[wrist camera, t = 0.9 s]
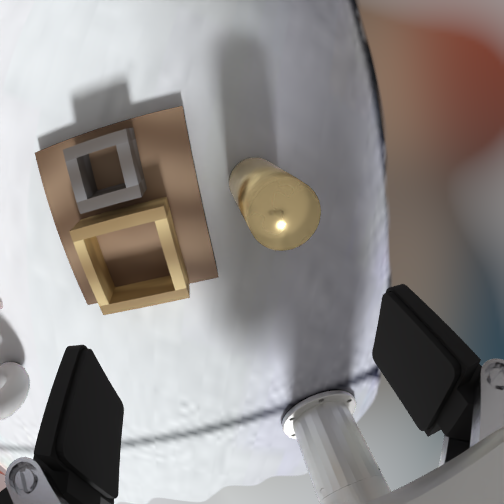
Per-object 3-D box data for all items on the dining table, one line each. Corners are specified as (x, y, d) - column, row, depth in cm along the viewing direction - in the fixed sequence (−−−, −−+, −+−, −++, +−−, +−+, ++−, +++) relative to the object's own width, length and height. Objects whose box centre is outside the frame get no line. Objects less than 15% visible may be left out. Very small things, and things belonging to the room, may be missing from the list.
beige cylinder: (281, 201, 29) (322, 242, 20) (233, 211, 28) (254, 257, 19) (275, 153, 27) (317, 173, 18) (224, 162, 26) (242, 186, 17)
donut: (28, 351, 31) (3, 407, 22) (42, 370, 32) (22, 426, 23) (-12, 360, 30) (-36, 408, 21) (1, 377, 31) (-20, 425, 22)
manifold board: (217, 271, 31) (221, 293, 27) (90, 298, 29) (80, 322, 25) (182, 106, 24) (180, 103, 20) (40, 151, 22) (19, 157, 19)
